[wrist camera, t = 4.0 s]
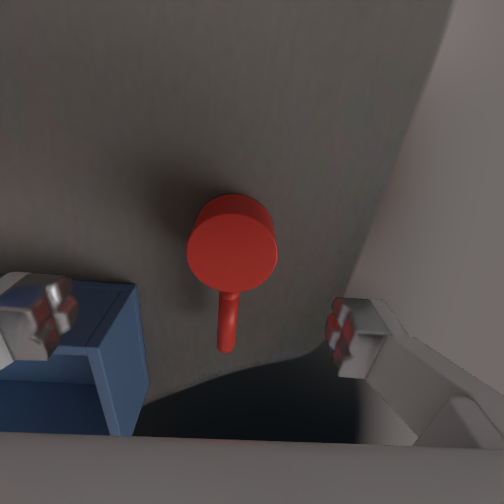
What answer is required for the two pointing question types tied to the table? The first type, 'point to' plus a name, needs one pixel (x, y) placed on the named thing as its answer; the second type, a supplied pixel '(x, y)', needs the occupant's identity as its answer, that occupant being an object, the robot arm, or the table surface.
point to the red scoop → (232, 254)
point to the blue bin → (83, 371)
